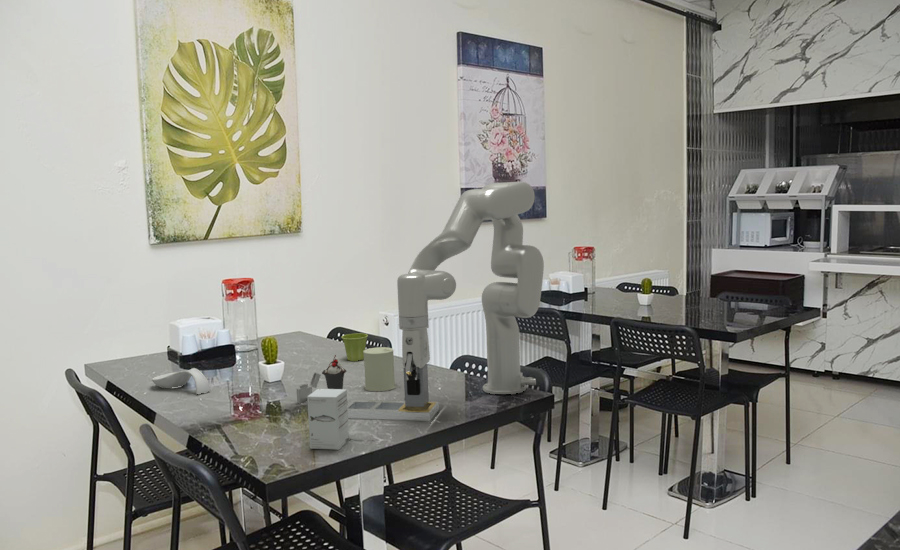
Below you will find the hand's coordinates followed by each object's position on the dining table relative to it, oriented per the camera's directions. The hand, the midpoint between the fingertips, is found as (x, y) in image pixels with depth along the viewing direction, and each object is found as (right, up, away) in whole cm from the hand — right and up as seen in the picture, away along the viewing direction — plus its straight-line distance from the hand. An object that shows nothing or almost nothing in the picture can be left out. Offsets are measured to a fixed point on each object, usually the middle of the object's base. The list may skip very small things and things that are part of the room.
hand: (416, 391), depth 188 cm
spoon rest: (-75, -6, +41) cm, 86 cm away
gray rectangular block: (0, -3, 0) cm, 3 cm away
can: (-12, -4, +33) cm, 36 cm away
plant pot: (-25, -1, +74) cm, 78 cm away
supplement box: (-19, -10, -17) cm, 28 cm away
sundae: (-23, -7, +14) cm, 28 cm away
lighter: (-32, -6, +21) cm, 39 cm away
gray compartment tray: (-7, -7, +2) cm, 10 cm away
